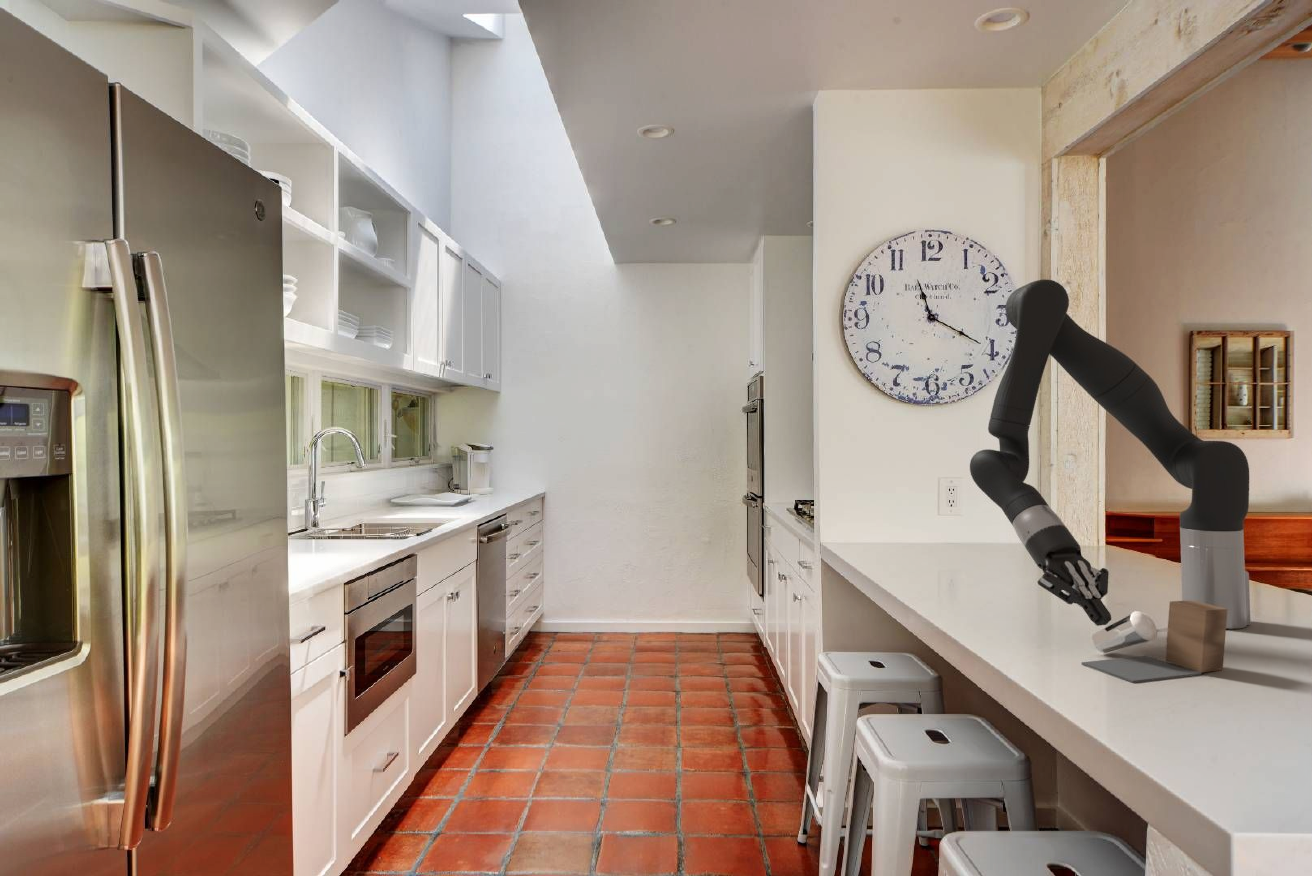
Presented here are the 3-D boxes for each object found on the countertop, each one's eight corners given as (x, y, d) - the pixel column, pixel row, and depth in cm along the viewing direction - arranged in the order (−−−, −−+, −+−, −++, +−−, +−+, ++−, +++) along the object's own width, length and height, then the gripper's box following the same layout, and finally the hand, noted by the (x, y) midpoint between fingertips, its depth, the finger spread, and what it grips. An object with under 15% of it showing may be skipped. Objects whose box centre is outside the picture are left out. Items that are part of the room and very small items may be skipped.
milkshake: (1117, 663, 115) (1175, 642, 108) (1090, 651, 114) (1146, 629, 107) (1112, 637, 118) (1168, 615, 110) (1085, 625, 117) (1140, 602, 110)
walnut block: (1186, 658, 111) (1191, 600, 110) (1222, 669, 106) (1227, 608, 106) (1165, 661, 109) (1169, 601, 108) (1200, 672, 104) (1205, 610, 104)
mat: (1146, 657, 113) (1146, 655, 113) (1201, 674, 104) (1201, 672, 104) (1081, 664, 110) (1081, 662, 110) (1132, 682, 101) (1132, 680, 101)
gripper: (1023, 525, 123) (1082, 612, 111) (1088, 521, 126) (1153, 606, 114) (1002, 552, 129) (1057, 638, 116) (1065, 548, 132) (1125, 632, 119)
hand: (1104, 622), depth 115 cm, fingers closed
